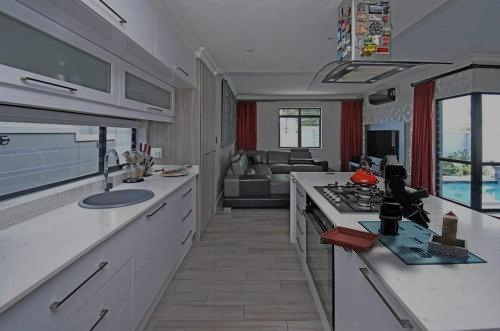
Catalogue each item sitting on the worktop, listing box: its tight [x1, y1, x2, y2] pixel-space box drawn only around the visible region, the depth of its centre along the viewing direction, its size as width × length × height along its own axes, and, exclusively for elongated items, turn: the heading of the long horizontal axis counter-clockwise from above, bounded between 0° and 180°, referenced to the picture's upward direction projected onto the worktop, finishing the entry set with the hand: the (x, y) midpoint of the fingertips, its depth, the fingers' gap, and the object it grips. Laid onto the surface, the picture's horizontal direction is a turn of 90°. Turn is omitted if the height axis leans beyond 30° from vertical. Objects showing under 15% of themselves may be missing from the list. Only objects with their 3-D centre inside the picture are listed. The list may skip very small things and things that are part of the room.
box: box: [427, 233, 469, 260], centre depth 108 cm, size 12×12×4 cm
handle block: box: [441, 214, 459, 246], centre depth 107 cm, size 4×4×12 cm
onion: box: [444, 210, 458, 217], centre depth 136 cm, size 6×6×8 cm
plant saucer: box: [319, 225, 382, 253], centre depth 114 cm, size 18×18×3 cm
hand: (428, 225), depth 111 cm, fingers open, 9 cm apart
